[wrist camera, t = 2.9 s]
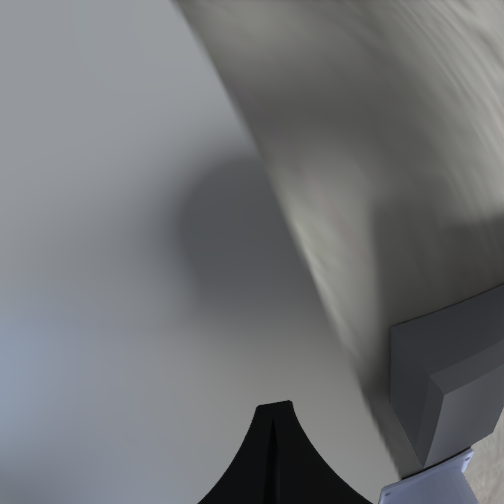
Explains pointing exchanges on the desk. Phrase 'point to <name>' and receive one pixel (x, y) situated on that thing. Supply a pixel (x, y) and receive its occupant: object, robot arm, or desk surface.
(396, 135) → the desk surface
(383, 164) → the desk surface
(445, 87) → the desk surface
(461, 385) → the grey rectangular box
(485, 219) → the desk surface
